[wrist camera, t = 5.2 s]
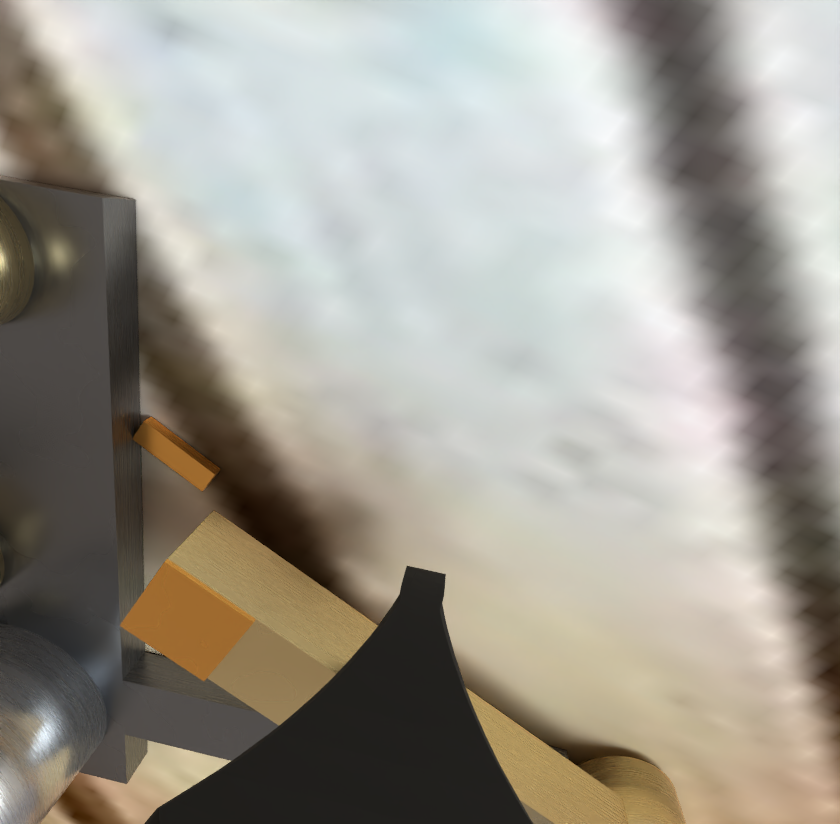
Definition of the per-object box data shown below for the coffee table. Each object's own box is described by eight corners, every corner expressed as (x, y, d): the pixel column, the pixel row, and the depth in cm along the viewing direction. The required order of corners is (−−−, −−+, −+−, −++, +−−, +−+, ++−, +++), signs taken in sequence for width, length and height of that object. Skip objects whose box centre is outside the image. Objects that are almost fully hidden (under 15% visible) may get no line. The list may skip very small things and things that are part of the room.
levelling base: (532, 846, 16) (552, 1161, 11) (-34, 707, 17) (-274, 930, 12) (727, 305, 10) (978, 398, 5) (-135, 151, 11) (-682, 92, 6)
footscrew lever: (701, 799, 14) (755, 947, 11) (618, 851, 15) (648, 999, 12) (247, 472, 13) (173, 547, 10) (187, 553, 14) (105, 644, 11)
